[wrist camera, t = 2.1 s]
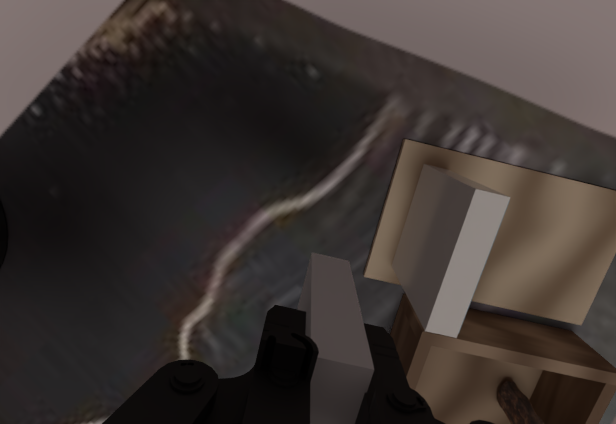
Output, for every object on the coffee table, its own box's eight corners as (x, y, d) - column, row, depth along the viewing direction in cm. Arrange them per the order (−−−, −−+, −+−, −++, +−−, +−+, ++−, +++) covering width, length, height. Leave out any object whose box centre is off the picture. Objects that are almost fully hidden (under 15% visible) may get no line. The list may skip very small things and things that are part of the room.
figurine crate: (350, 447, 39) (358, 512, 33) (402, 290, 35) (422, 331, 29) (498, 476, 40) (534, 546, 34) (567, 327, 36) (623, 375, 29)
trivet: (363, 273, 34) (364, 276, 33) (403, 138, 31) (405, 139, 30) (576, 321, 35) (581, 325, 34) (635, 195, 32) (642, 197, 31)
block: (391, 266, 33) (424, 330, 23) (423, 163, 31) (475, 188, 21) (415, 271, 33) (458, 338, 24) (449, 170, 31) (513, 197, 21)
